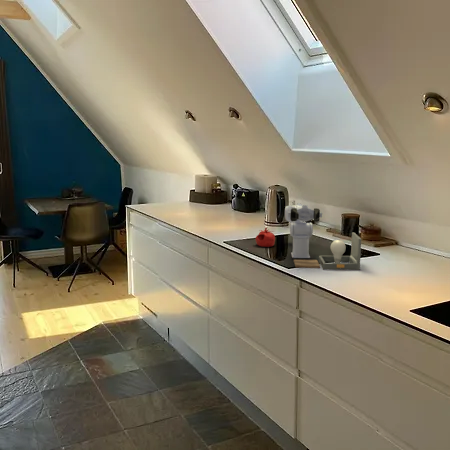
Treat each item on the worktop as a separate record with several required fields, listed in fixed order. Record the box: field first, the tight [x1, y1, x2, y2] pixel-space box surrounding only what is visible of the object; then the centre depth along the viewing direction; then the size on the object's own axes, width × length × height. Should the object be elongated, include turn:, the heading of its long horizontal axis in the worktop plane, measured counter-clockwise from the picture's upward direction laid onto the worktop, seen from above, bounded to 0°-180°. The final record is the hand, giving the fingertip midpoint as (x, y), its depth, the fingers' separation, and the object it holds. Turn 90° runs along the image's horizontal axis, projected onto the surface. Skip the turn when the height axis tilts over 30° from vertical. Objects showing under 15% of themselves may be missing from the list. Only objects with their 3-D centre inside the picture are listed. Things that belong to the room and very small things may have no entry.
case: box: [318, 232, 362, 271], centre depth 229 cm, size 14×15×13 cm
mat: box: [293, 259, 321, 269], centre depth 232 cm, size 10×10×1 cm
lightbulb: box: [330, 239, 347, 263], centre depth 230 cm, size 6×6×11 cm
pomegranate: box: [255, 227, 276, 248], centre depth 268 cm, size 10×10×9 cm
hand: (307, 216), depth 224 cm, fingers open, 7 cm apart
